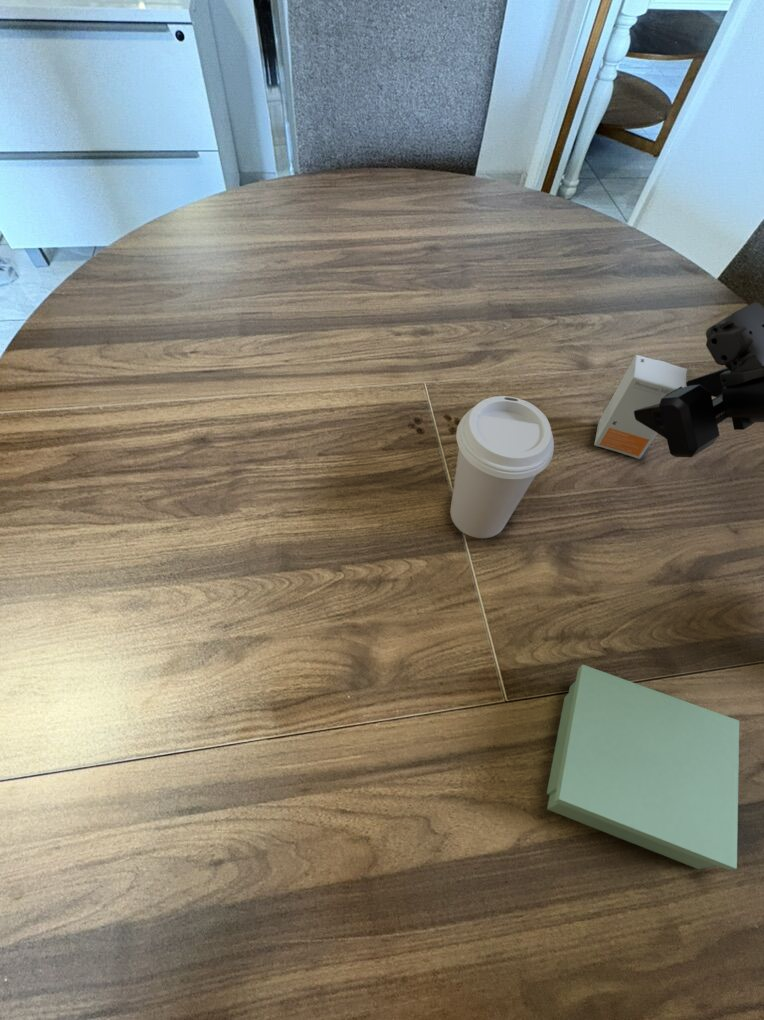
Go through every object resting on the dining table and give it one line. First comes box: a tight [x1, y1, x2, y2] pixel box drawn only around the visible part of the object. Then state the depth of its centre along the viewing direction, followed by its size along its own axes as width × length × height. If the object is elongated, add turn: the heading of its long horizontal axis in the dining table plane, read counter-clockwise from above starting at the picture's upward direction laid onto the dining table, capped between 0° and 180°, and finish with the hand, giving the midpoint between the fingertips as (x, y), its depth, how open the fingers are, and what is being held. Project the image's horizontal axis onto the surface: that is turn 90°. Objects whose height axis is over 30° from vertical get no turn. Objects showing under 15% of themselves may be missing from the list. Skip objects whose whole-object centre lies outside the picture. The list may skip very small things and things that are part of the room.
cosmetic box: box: [593, 354, 688, 460], centre depth 74 cm, size 6×4×12 cm
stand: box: [546, 664, 740, 871], centre depth 53 cm, size 14×12×5 cm
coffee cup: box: [449, 395, 555, 539], centre depth 64 cm, size 10×10×15 cm
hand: (662, 399), depth 70 cm, fingers open, 9 cm apart
